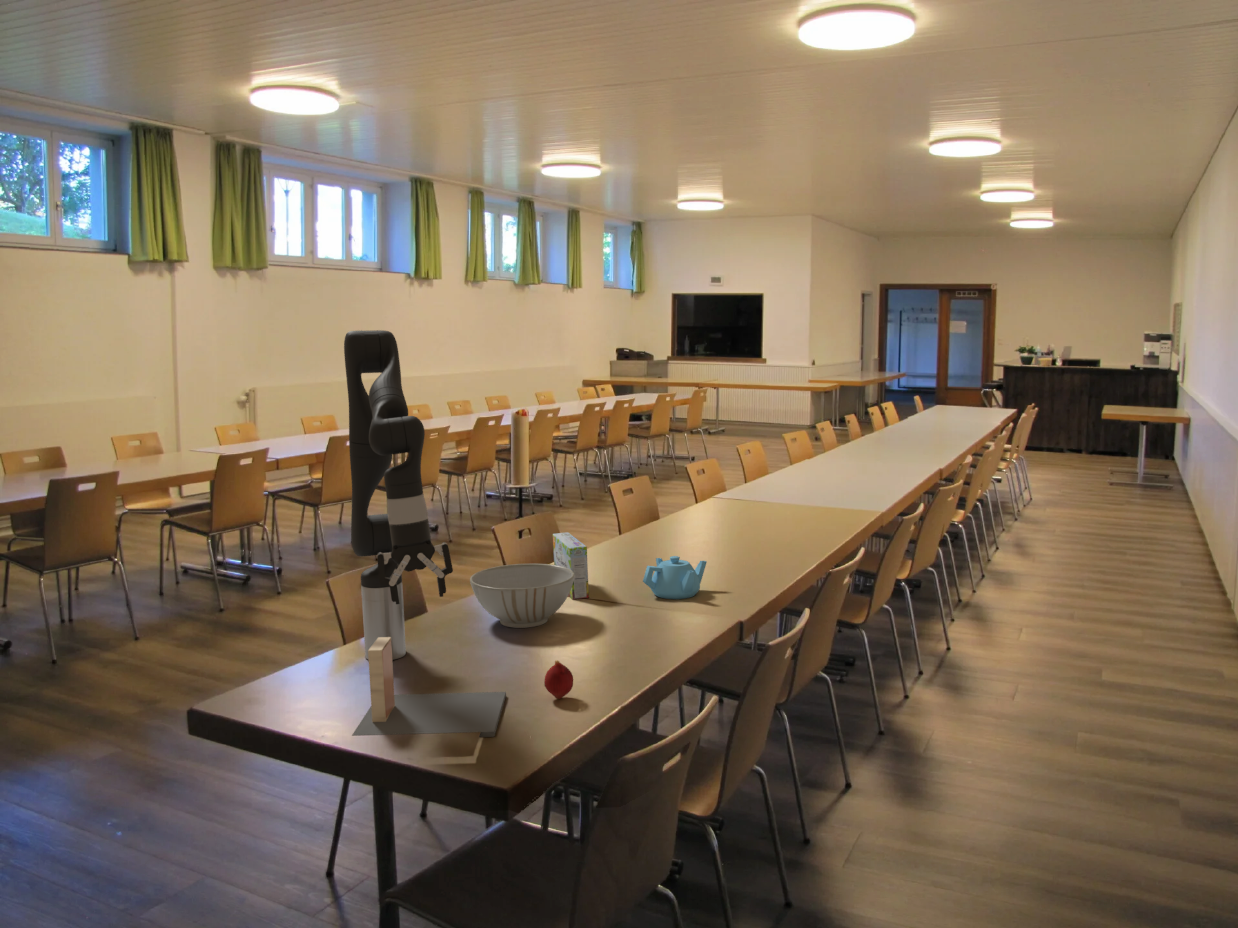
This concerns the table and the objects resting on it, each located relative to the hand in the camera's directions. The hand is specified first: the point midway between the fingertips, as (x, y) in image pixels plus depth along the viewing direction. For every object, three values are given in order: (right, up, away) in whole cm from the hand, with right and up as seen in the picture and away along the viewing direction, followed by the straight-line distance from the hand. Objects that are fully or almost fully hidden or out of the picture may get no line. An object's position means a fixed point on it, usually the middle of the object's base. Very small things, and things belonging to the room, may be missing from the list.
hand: (419, 599), depth 188 cm
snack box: (+25, -10, +89) cm, 93 cm away
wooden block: (-6, -22, -4) cm, 23 cm away
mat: (+3, -22, -4) cm, 23 cm away
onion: (+27, -21, +5) cm, 35 cm away
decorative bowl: (+15, -14, +59) cm, 62 cm away
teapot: (+56, -10, +82) cm, 100 cm away
